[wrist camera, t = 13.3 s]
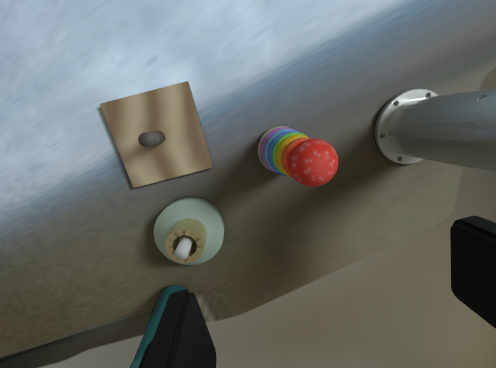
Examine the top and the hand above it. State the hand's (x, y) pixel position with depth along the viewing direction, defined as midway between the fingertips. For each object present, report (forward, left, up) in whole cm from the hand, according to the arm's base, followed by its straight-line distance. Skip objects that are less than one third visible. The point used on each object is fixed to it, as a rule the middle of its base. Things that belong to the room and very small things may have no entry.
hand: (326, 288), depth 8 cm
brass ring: (+14, +10, -30) cm, 35 cm away
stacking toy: (-5, 0, -34) cm, 34 cm away
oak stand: (+14, -7, -33) cm, 37 cm away
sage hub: (+14, +10, -33) cm, 37 cm away
